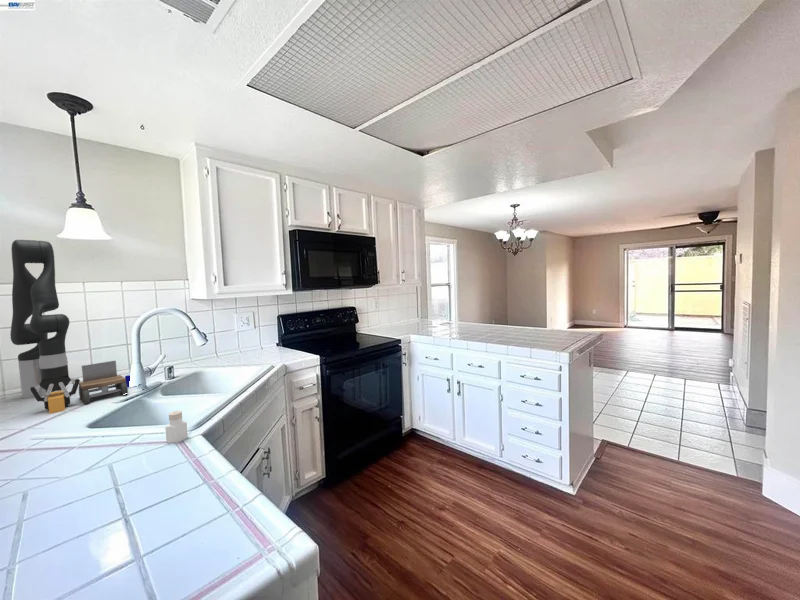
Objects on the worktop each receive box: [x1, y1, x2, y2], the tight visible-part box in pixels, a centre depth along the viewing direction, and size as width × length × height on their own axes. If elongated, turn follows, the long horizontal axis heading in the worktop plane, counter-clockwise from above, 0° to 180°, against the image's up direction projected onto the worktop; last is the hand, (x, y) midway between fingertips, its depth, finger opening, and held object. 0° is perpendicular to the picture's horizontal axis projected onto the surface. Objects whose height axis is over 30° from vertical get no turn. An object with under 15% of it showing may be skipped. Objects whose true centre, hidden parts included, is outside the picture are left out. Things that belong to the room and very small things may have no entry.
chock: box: [48, 390, 66, 414], centre depth 129 cm, size 4×12×6 cm, turn 44°
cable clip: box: [124, 374, 131, 387], centre depth 160 cm, size 12×4×6 cm, turn 19°
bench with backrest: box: [78, 360, 129, 405], centre depth 141 cm, size 16×14×14 cm
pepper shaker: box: [164, 410, 189, 444], centre depth 95 cm, size 4×4×10 cm
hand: (57, 407), depth 129 cm, fingers closed on chock, 4 cm apart
